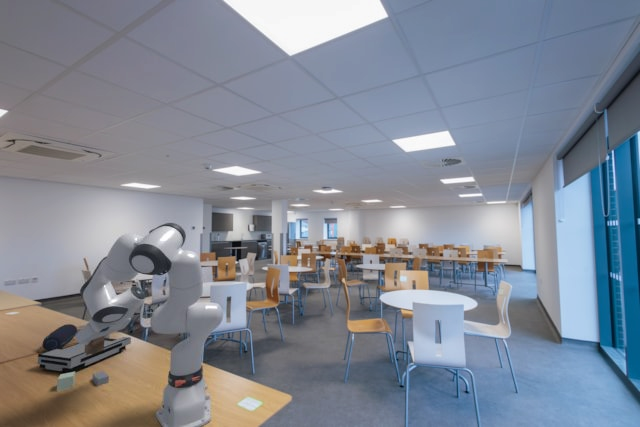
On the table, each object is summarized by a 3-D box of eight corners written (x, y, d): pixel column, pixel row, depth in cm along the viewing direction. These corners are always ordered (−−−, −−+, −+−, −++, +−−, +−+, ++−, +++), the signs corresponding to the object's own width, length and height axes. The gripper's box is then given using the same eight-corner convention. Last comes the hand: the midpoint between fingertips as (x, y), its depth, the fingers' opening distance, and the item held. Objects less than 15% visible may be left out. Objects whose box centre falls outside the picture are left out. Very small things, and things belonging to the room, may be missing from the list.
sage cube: (72, 388, 121) (73, 376, 121) (56, 391, 118) (57, 379, 119) (74, 383, 125) (75, 371, 126) (59, 386, 122) (60, 374, 123)
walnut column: (103, 349, 119) (105, 330, 120) (93, 354, 115) (94, 333, 116) (95, 348, 120) (96, 329, 121) (84, 353, 116) (85, 333, 117)
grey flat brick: (108, 383, 126) (108, 376, 126) (97, 386, 123) (97, 379, 123) (103, 377, 131) (103, 370, 131) (92, 380, 128) (92, 374, 128)
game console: (130, 350, 162) (131, 335, 163) (69, 376, 131) (71, 358, 132) (101, 346, 167) (102, 332, 168) (36, 371, 136) (38, 354, 137)
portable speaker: (58, 339, 177) (59, 323, 178) (78, 337, 181) (79, 321, 182) (38, 355, 154) (40, 336, 155) (61, 352, 159) (63, 333, 159)
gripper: (131, 306, 128) (112, 327, 129) (86, 319, 108) (63, 343, 109) (139, 317, 127) (120, 338, 128) (94, 332, 107) (72, 356, 108)
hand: (93, 340), depth 118 cm, fingers closed on walnut column, 4 cm apart
